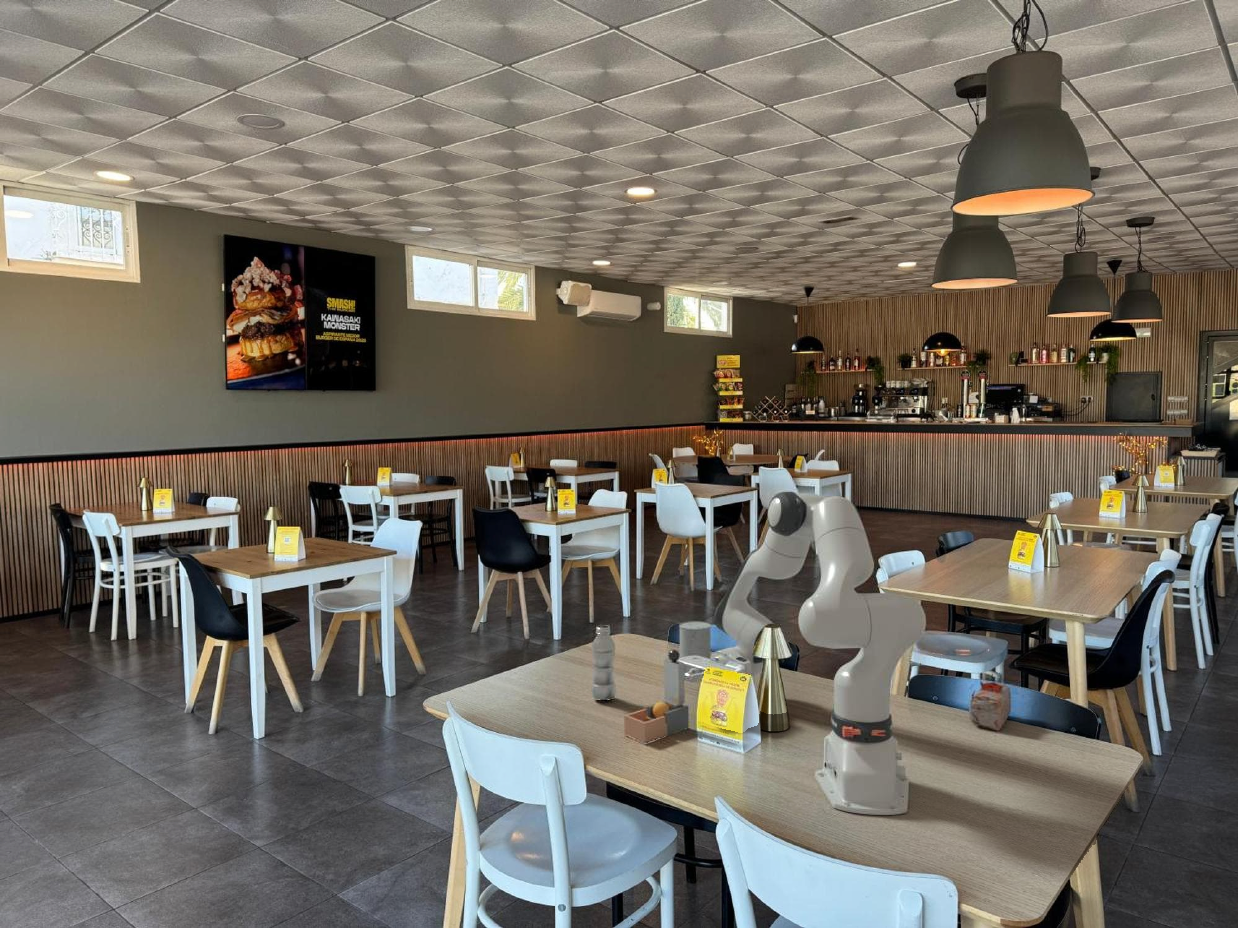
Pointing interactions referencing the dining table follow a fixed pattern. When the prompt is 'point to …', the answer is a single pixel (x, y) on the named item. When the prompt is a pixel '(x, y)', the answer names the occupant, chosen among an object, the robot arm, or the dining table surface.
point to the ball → (660, 709)
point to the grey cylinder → (695, 639)
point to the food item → (990, 705)
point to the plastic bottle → (603, 664)
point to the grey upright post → (674, 681)
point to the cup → (644, 726)
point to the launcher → (673, 718)
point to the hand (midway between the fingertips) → (688, 678)
